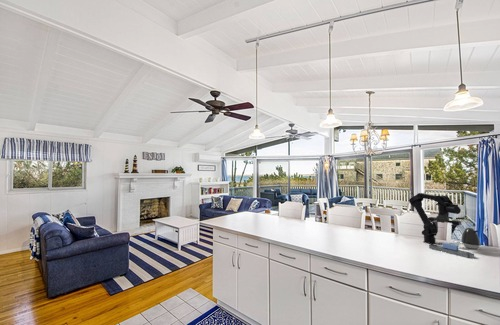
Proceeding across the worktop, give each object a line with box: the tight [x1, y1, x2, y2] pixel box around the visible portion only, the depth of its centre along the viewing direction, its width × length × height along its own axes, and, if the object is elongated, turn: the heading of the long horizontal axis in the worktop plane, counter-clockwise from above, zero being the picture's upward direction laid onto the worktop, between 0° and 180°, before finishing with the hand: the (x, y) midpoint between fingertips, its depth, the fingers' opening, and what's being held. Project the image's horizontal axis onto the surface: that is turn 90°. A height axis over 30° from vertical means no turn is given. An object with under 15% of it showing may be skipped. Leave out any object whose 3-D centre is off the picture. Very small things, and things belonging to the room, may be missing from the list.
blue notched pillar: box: [441, 242, 459, 251], centre depth 157 cm, size 8×3×6 cm, turn 31°
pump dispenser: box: [461, 227, 481, 250], centre depth 168 cm, size 10×10×15 cm
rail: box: [428, 243, 475, 260], centre depth 157 cm, size 24×6×2 cm, turn 30°
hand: (444, 232), depth 168 cm, fingers open, 9 cm apart
